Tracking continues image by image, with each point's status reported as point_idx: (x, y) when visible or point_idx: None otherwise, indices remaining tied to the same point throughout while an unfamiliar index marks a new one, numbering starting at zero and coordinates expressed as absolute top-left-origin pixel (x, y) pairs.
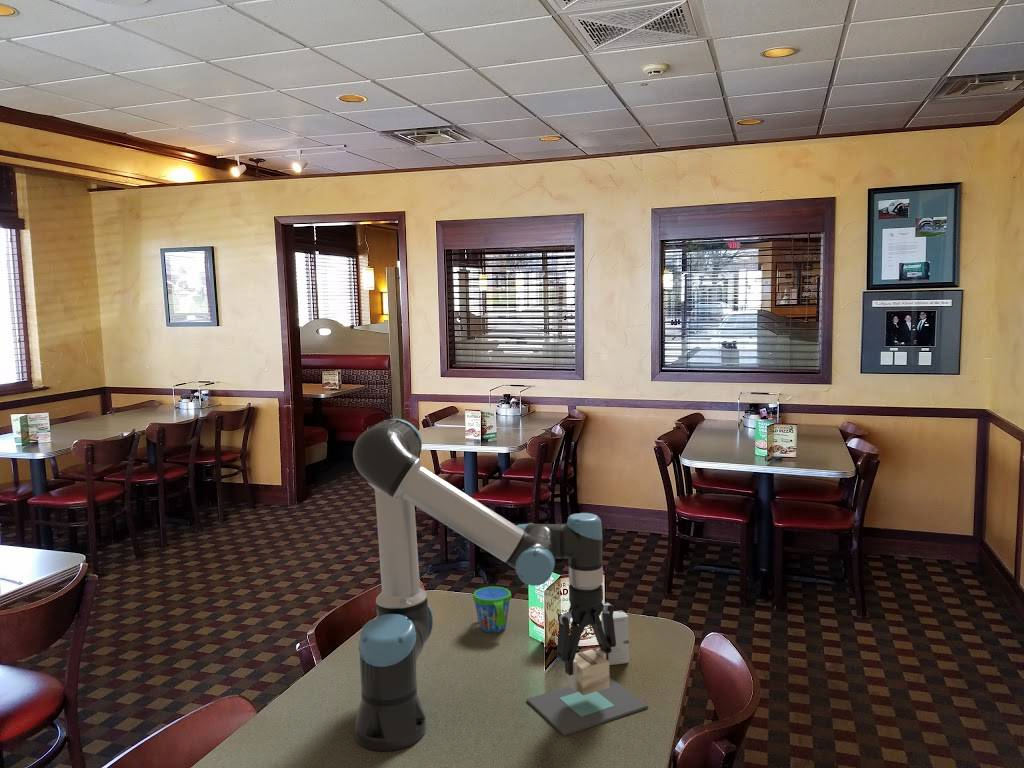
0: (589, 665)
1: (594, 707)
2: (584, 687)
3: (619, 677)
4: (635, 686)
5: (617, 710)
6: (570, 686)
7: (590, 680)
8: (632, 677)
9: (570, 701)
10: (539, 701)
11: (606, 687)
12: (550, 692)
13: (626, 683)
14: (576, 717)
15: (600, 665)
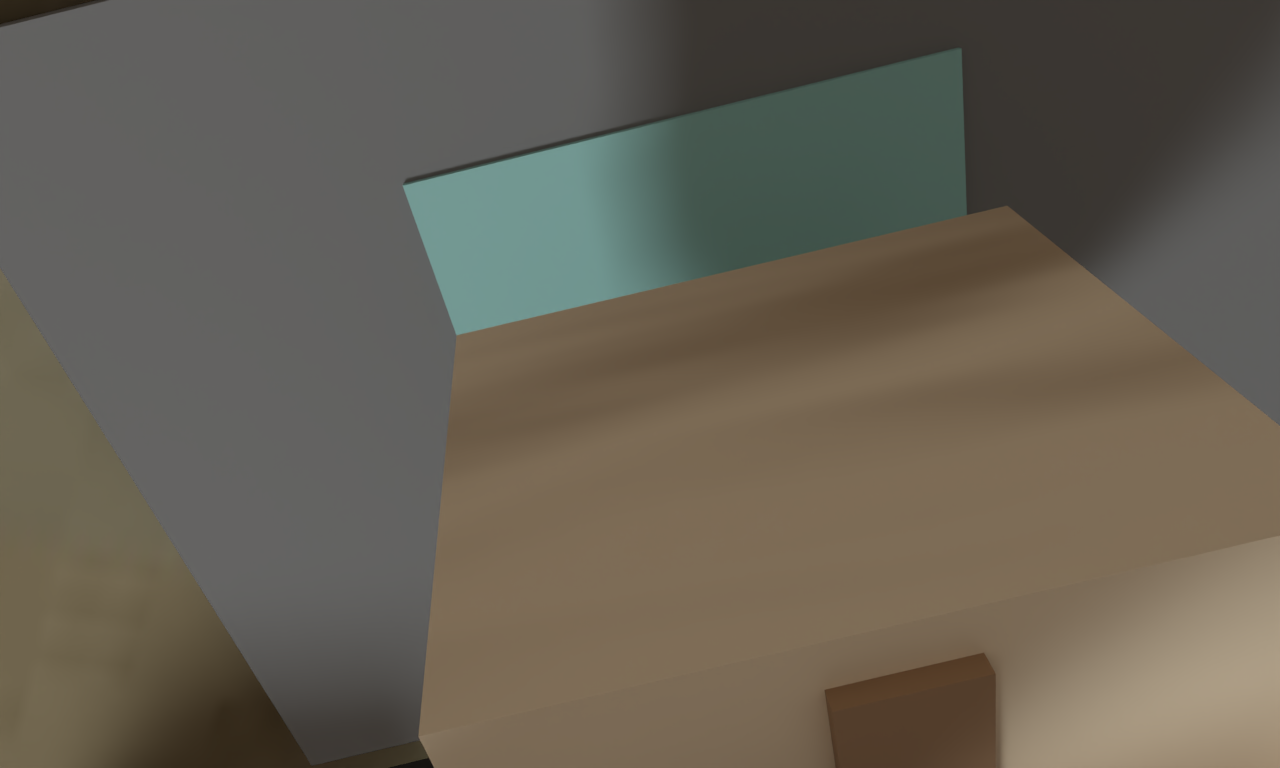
0: (1076, 644)
1: (690, 213)
2: (1044, 269)
3: (169, 726)
4: (8, 558)
5: (402, 55)
6: None
7: (944, 356)
8: (15, 708)
9: None
10: None
11: (523, 325)
12: None
13: (111, 625)
14: (1021, 50)
15: (730, 626)
